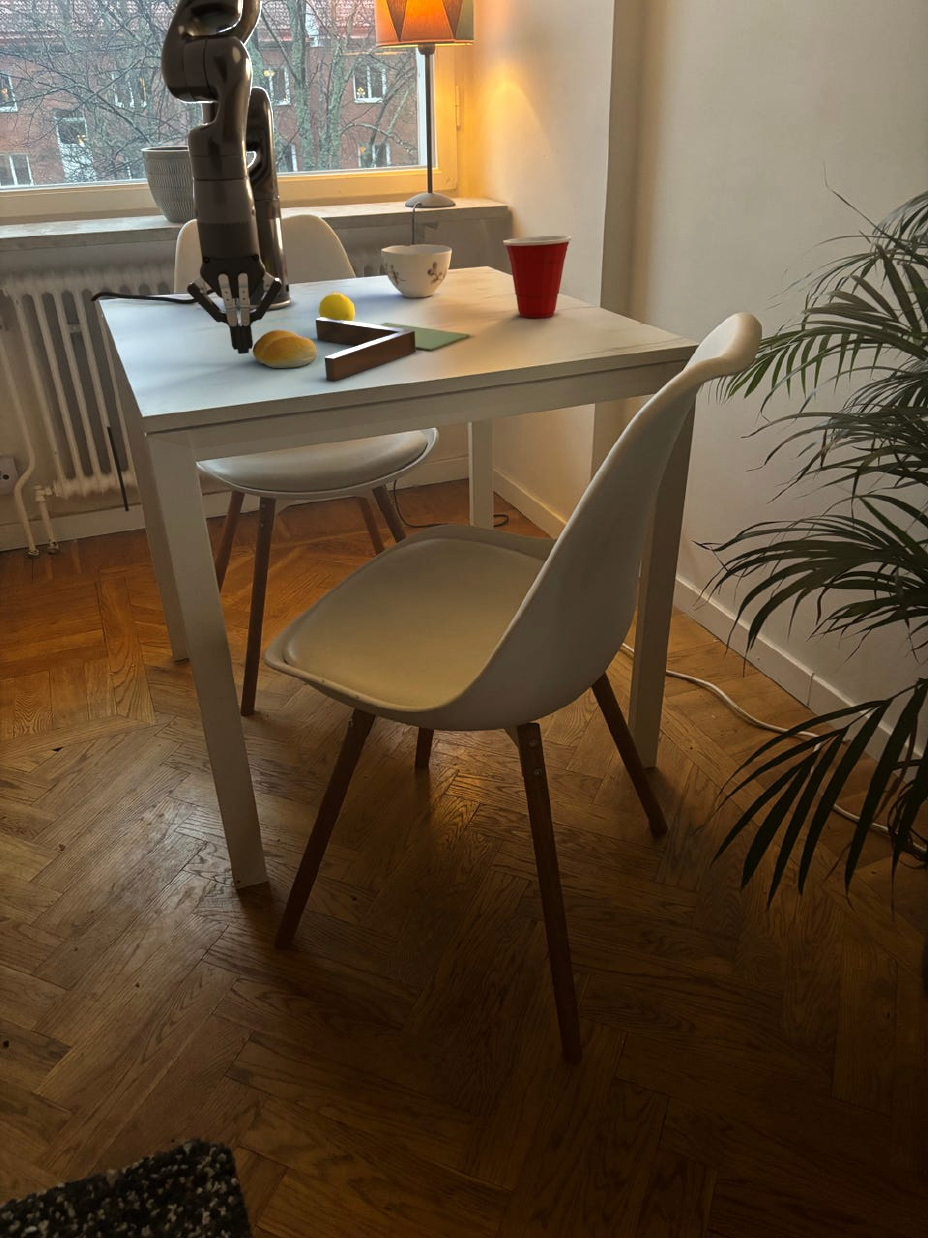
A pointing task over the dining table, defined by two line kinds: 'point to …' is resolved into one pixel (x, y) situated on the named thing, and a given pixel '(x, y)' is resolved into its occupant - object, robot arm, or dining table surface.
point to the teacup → (416, 268)
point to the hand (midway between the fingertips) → (243, 352)
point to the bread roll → (284, 350)
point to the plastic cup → (537, 272)
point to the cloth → (430, 336)
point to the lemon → (337, 307)
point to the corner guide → (362, 346)
